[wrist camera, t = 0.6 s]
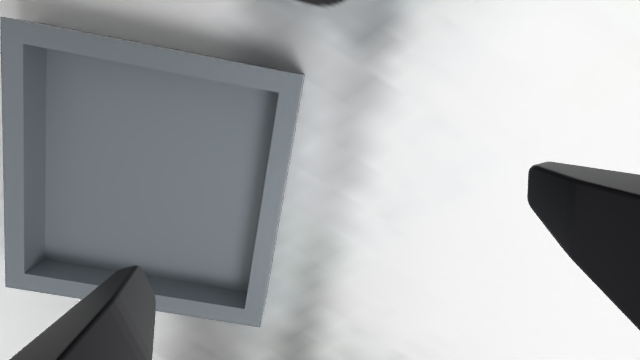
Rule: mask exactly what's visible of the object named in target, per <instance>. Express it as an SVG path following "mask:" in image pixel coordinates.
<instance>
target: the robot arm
mask: <svg viewBox="0 0 640 360" xmlns="http://www.w3.org/2000/svg"><path fill="white" fill-rule="evenodd" d="M528 202H529V205H530V207H531V208H532V210H533V211H534V212H535V213H536V215H537V216H538V217H539V219H540V220H541V221H542V223H543V224H544V225H545V226H546V228H547V229H548V230H549V232H550V233H551V234H552V235H553V237H554V238H555V239H556V241H557V242H558V243H559V244H560V246H561V247H562V248H563V249H564V251H565V252H566V253H567V254H568V255H569V257H570V258H571V259H572V260H573V261H574V262H575V263H576V264H577V265H578V266H579V267H580V269H581V270H582V271H583V272H584V273H585V274H586V275H587V276H588V277H589V278H590V279H591V280H592V281H593V282H594V283H595V284H596V285H597V286H598V287H599V288H600V289H601V290H602V291H603V292H604V294H605V295H606V296H607V297H608V298H609V299H610V300H611V301H612V302H613V303H614V304H615V305H616V306H617V307H618V308H619V309H620V310H621V311H622V312H623V313H624V314H625V315H626V316H627V318H628V319H629V320H630V321H631V322H632V323H633V324H634V325H635V326H636V327H637V328H638V329H639V330H640V175H637V174H631V173H624V172H617V171H610V170H603V169H597V168H590V167H583V166H576V165H569V164H563V163H556V162H544V163H540V164H536V165H533V166H532V167H531V168H530V170H529V174H528ZM155 311H156V298H155V294H154V292H153V290H152V288H151V286H150V284H149V282H148V279H147V277H146V275H145V273H144V271H143V270H142V268H141V267H140V266H138V265H134V266H130V267H126V268H122V269H119V270H117V271H116V272H115V273H114V274H112V275H111V276H110V277H109V278H108V279H106V280H105V281H104V282H103V283H102V284H100V285H99V286H98V287H97V288H96V289H94V290H93V291H92V292H91V293H90V294H88V295H87V296H86V297H85V298H83V299H82V300H81V301H80V302H79V303H77V304H76V305H75V306H74V307H73V308H71V309H70V310H69V311H68V312H67V313H65V314H64V315H63V316H62V317H61V318H59V319H58V320H57V321H56V322H54V323H53V324H52V325H51V326H50V327H48V328H47V329H46V330H45V331H44V332H42V333H41V334H40V335H39V336H38V337H36V338H35V339H34V340H33V341H32V342H30V343H29V344H28V345H27V346H25V347H24V348H23V349H22V350H21V351H19V352H18V353H17V354H16V355H15V356H13V357H12V358H11V359H10V360H152V352H153V338H154V324H155Z"/></svg>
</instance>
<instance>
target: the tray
mask: <svg viewBox="0 0 640 360" xmlns="http://www.w3.org/2000/svg"><path fill="white" fill-rule="evenodd" d="M0 20H1V73H2V125H3V178H4V231H5V284H6V287H10V288H16V289H22V290H28V291H35V292H41V293H47V294H54V295H60V296H66V297H73V298H79V299H83V298H85V297H86V296H87V295H88V294H90V293H91V292H92V291H93V290H94V289H96V288H97V287H98V286H99V285H100V284H102V283H103V282H104V281H105V280H106V279H108V278H109V277H110V276H111V275H112V274H114V273H115V272H116V271H117V270H119V269H122V268H126V267H130V266H134V265H138V266H140V267H141V268H142V270H143V271H144V273H145V275H146V277H147V279H148V282H149V284H150V286H151V288H152V290H153V292H154V294H155V298H156V311H161V312H167V313H173V314H180V315H186V316H192V317H198V318H205V319H211V320H217V321H224V322H230V323H236V324H242V325H249V326H255V327H260V324H261V320H262V315H263V311H264V306H265V302H266V296H267V290H268V284H269V279H270V273H271V267H272V261H273V256H274V250H275V244H276V238H277V232H278V227H279V221H280V215H281V209H282V204H283V198H284V192H285V186H286V181H287V175H288V169H289V163H290V157H291V152H292V146H293V140H294V134H295V129H296V123H297V117H298V111H299V106H300V100H301V94H302V88H303V82H304V77H305V75H303V74H298V73H293V72H288V71H283V70H278V69H273V68H267V67H262V66H257V65H252V64H247V63H242V62H237V61H231V60H226V59H221V58H216V57H211V56H206V55H201V54H196V53H190V52H185V51H180V50H175V49H170V48H165V47H160V46H154V45H149V44H144V43H139V42H134V41H129V40H124V39H118V38H113V37H108V36H103V35H98V34H93V33H88V32H83V31H77V30H72V29H67V28H62V27H57V26H52V25H47V24H41V23H36V22H30V21H24V20H18V19H11V18H5V17H0Z"/></svg>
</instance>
